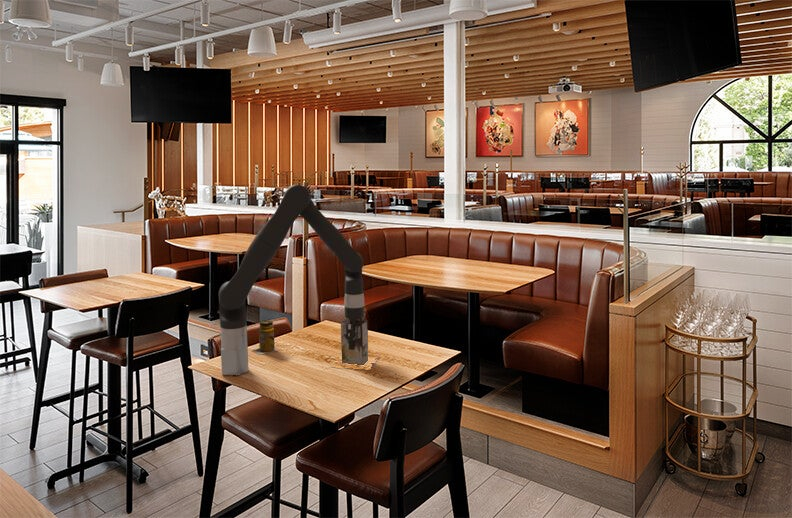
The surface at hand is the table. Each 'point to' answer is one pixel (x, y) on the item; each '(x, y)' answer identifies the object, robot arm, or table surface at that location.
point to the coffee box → (361, 343)
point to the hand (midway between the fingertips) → (355, 346)
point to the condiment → (266, 338)
